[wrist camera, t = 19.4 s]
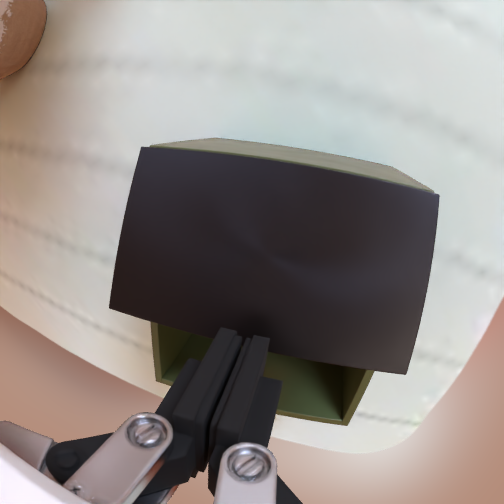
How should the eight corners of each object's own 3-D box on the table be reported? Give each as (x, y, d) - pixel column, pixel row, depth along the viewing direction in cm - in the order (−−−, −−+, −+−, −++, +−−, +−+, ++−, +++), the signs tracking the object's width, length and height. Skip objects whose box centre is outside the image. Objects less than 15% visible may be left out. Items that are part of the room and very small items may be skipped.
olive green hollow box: (214, 137, 23) (149, 145, 14) (392, 166, 21) (435, 191, 12) (202, 311, 28) (155, 381, 20) (346, 341, 26) (347, 426, 18)
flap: (144, 149, 14) (141, 146, 13) (436, 196, 12) (440, 194, 11) (113, 307, 14) (108, 308, 13) (403, 371, 11) (406, 375, 11)
